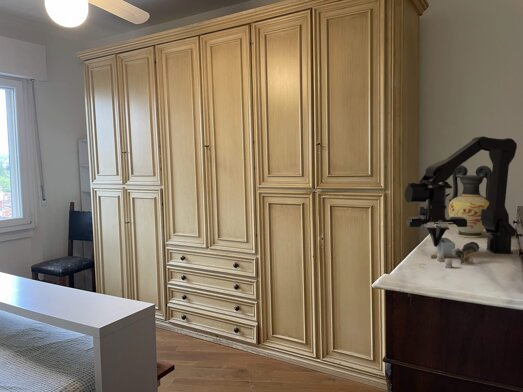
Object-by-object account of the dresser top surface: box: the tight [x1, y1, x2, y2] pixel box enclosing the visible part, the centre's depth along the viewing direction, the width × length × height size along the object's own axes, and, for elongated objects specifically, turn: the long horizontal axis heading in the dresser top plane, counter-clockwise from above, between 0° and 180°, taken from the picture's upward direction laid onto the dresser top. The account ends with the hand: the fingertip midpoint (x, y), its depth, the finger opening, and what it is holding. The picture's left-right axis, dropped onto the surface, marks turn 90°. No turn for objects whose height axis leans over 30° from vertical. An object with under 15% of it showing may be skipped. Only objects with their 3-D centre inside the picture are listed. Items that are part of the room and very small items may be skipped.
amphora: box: [448, 164, 492, 239], centre depth 172 cm, size 18×17×30 cm
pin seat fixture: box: [430, 252, 460, 269], centre depth 134 cm, size 10×19×2 cm, turn 173°
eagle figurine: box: [452, 241, 481, 265], centre depth 131 cm, size 8×7×9 cm
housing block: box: [435, 237, 456, 255], centre depth 141 cm, size 4×7×5 cm, turn 173°
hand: (435, 246), depth 141 cm, fingers closed
